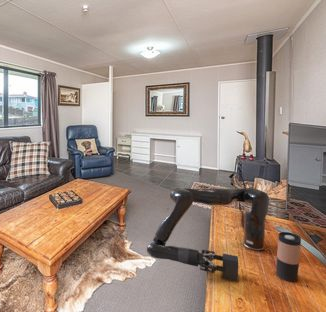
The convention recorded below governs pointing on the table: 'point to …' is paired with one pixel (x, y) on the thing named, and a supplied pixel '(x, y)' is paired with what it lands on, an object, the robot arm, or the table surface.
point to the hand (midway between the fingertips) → (225, 264)
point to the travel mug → (288, 256)
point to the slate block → (230, 267)
